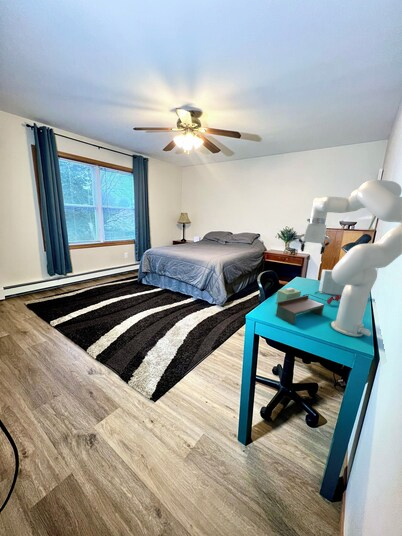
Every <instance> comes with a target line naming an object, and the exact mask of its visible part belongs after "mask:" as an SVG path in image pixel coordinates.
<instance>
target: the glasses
mask: <svg viewBox="0 0 402 536" xmlns="http://www.w3.org/2000/svg"><path fill="white" fill-rule="evenodd" d="M314 292H315V291H314ZM320 292H322V291H319V290H318V291H316V292H315V294H318V293H320ZM323 293H325V292H323ZM306 295H309V296H311V297H314V298H317V299H318V300H319V299H320V300H322V301H325V302H326V303H327V304H328V305H331V303H332V302H333V301H335V302H340V300H341V295H334V294H328V293H326V294H325V295H329V297H328V298H327V299H324V298H322V297H321V298H320V297H318V296H316V295H313V294H310V293H307V294H303V295H302V296H306Z"/></svg>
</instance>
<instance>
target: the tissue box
mask: <svg viewBox="0 0 402 536" xmlns="http://www.w3.org/2000/svg"><path fill="white" fill-rule="evenodd" d="M301 293H302V291H301V290H299V289H296V288H294V287H288V288H283V289H278V290H277V294H276V300H275V304H277V305H278V302H280V301H284V300H288V299H293V298H297V297H301Z"/></svg>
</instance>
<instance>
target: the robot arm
mask: <svg viewBox="0 0 402 536" xmlns="http://www.w3.org/2000/svg"><path fill="white" fill-rule="evenodd" d="M401 195H402V186H401V185H400V184H399V183H398V182H396V181H393V180H384V179H369V180H367V181H365V182H364V183H362V184H360V186H358V188H355V189H354V190H353V191H352V192H350V195H349V196H345V197H341V196H331V195H329V196H328V195H327V196H324V197H315V198H314V199H313V202H312V207H311V212H310V218H307V219H306V221H307V222H309V223H307V224H306V227H305V231H304V233H302V234H300V235H297V240H298V242H299V243H300V244H301V245H300V250H301V251H300V252H302V253H303V252H304V251H305V247H306V244H305V243H312V244H321V248H320V253H319V254H320V255H322V254H324V253H325V248H326V247H327V246H329V245H330V244H331V243H332V241H333V239H332V238H330V237H329V236H328V235H326V234H327V224H326V222H327V221H326V220H327V216H328V213H335V214H344V213H351V212H356V211H359V210H361V209H365V208H366V209H367V210H368V211H369V212H370V213H371V214H372V215H374V216H375V217H376V218H377V219H379V220H381V221H382V222H387V223H400V224H398V225H397V226H395V227H393V228H391V229H389V230H388V231H386V233H385V234H384V235H383V236H381V238H380V239H378V240H377V241H376V242H375V243H374V242H373V243H359V244H356V245H354V246H353V247H351V248H350V249H349V250H348V251H347V252H346V253H345V254H344V255H343V256H342V257H341V258H340V259H339V261H337V262H336V264H335V265H334V266H333V268H332V269H331V270H332V279H333V280H334V281H335V282H336V283H337V284H340V285H346V286H345V287H344V289H343V292H342V295H340V298H341V299H340V300H339V306H338V309H337V313H336V319H335V320H333V321H331V324H330V326H331V328H332V329H333V330H335V331H336V332H338V333H340V334H343V335H346V336H350V337H355V338H357V337H362V336H366V337H370V336H371V335H372V332H371V329H368V328H366V327H365V324H364V323H363V319H364V315H365V312H366V308H367V304H368V301H369V297H370V294H371V291H372V289H373V286H374V285H375V283H376V281H377V278H378V271H377V269H383V268H386V267H388V266H389V265H391V263H393V262H394V261H395V260H396V259H398V258H399V257H400V256H401V255H402V196H401ZM302 237H303V239H302ZM325 240H327V242H326V243H325Z"/></svg>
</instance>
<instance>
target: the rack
mask: <svg viewBox="0 0 402 536" xmlns="http://www.w3.org/2000/svg"><path fill="white" fill-rule="evenodd" d="M309 296H310V295H306V294H305V296H303V295H302V296H301V295H300V297H297V298H293V299H288V300H284V301H280V302H278V304H277V306H276V312H275V316H276V317H277V318H279V319H281V320H283V321H285V322H287V323H288V324H290V325H295V323H296V317H297V315H301V314H303V313H307V312H312V313H314V314H317V315H319V316H323V313H324V308H325V304H324V303H321V302H319V301H317V300H314V299H311V298H309Z"/></svg>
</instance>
